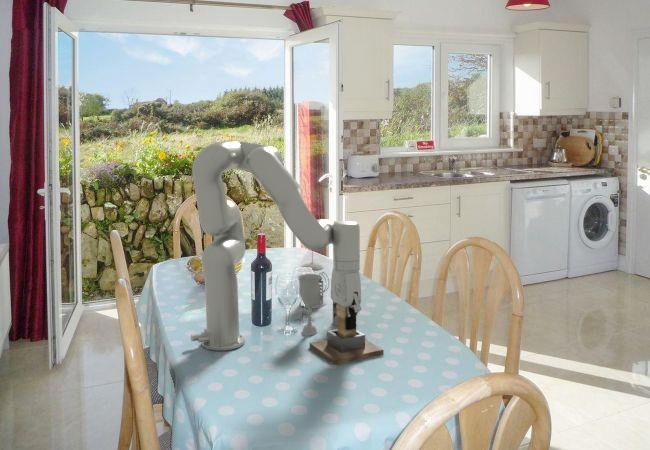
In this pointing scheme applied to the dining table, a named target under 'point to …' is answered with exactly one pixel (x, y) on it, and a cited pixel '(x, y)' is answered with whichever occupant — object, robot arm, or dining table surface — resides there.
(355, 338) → the grey square socket
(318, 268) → the french press
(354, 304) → the robot arm
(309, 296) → the chalice
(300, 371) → the dining table surface
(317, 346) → the board
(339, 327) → the rail post
